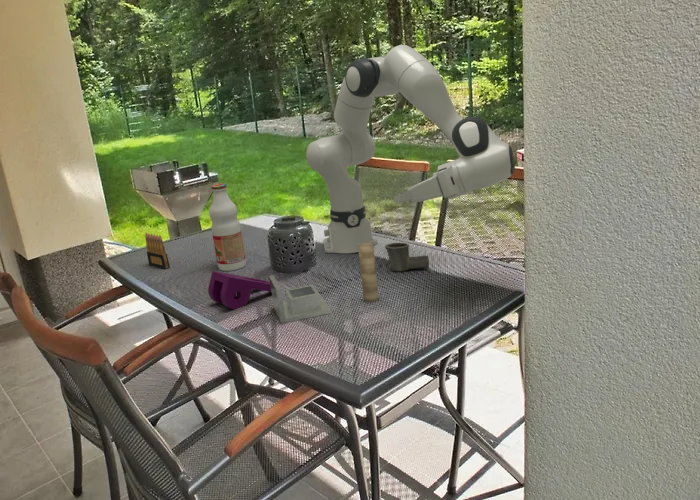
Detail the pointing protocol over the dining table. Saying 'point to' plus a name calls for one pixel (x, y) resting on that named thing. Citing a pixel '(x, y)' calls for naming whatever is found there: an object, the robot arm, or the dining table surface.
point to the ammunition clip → (156, 251)
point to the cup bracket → (297, 302)
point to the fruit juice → (226, 230)
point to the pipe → (404, 258)
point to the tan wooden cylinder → (368, 272)
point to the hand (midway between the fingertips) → (398, 198)
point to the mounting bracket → (234, 289)
